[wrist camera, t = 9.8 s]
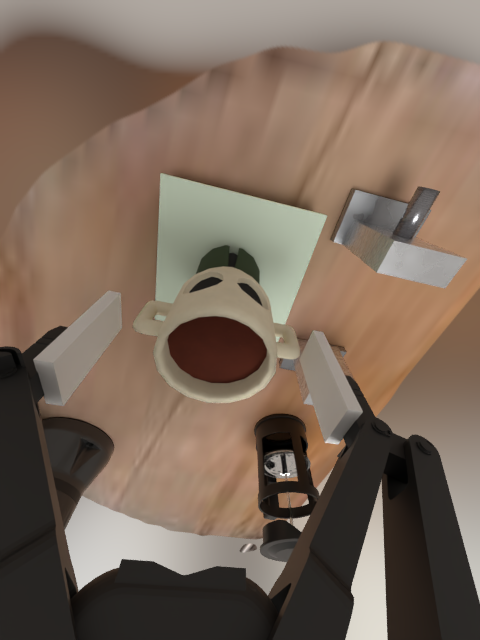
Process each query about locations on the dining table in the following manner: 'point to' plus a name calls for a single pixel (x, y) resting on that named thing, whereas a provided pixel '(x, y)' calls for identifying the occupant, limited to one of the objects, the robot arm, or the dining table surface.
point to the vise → (386, 251)
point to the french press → (282, 464)
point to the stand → (232, 238)
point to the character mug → (218, 331)
